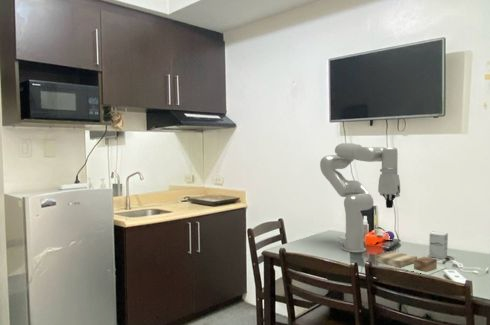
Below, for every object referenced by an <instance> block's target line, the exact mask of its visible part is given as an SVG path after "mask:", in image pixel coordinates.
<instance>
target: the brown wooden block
mask: <svg viewBox="0 0 490 325" xmlns="http://www.w3.org/2000/svg"><path fill="white" fill-rule="evenodd" d="M437 259H438V258H437ZM437 259H436V258H434V257H429V256H422V257H419V258H418V257H417V259H414V269H416V270H420V271H424V272H428V271H431V270H434V269H437V264H438V263H437Z"/></svg>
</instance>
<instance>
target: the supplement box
mask: <svg viewBox="0 0 490 325" xmlns="http://www.w3.org/2000/svg"><path fill="white" fill-rule="evenodd" d="M448 237H449V233H447V232H441V231H432V232H430V233H429V243H428V245H429V247H428V248H429V251H428V255H429V256H428V257H429V258H434V259H436V258H437V259H442V260H445V259H446V258H447V257H448V247H449V246H448V241H449V240H448Z"/></svg>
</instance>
